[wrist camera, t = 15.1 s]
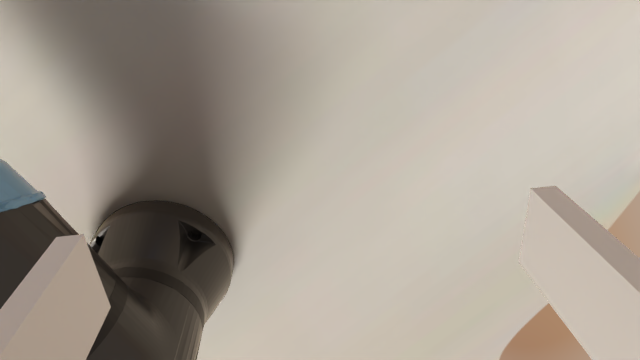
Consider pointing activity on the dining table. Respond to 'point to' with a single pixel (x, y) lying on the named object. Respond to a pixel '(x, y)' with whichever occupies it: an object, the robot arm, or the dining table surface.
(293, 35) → the dining table surface
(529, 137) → the dining table surface
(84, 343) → the robot arm
